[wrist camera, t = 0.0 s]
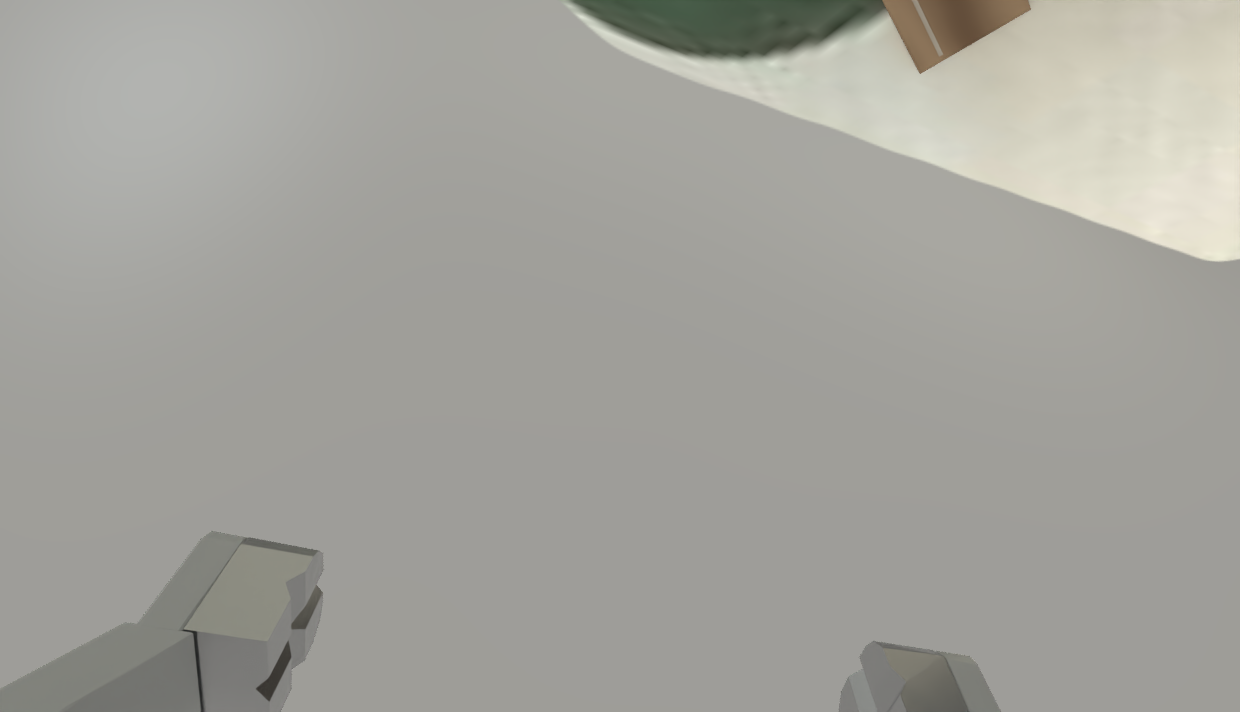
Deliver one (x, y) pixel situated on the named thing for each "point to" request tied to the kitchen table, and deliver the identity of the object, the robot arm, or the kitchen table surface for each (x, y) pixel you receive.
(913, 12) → the board
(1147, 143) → the kitchen table surface
